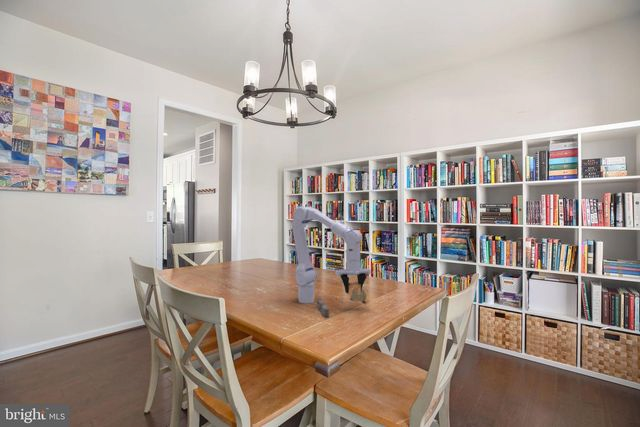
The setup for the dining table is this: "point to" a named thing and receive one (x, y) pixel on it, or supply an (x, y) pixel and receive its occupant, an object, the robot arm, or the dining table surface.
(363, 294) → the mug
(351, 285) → the u-shaped block
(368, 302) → the dining table surface
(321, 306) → the stand
